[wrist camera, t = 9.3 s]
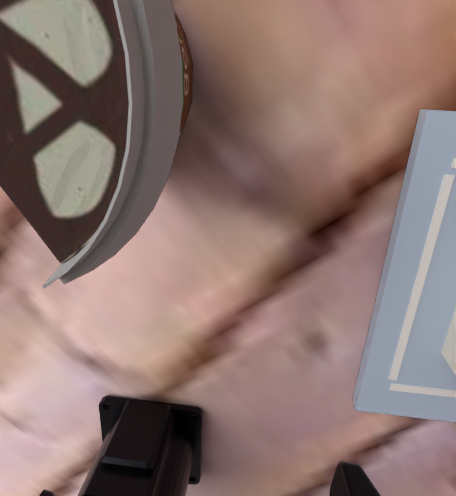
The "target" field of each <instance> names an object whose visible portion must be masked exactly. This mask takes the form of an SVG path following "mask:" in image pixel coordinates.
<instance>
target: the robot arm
mask: <svg viewBox="0 0 456 496" xmlns="http://www.w3.org/2000/svg"><path fill="white" fill-rule="evenodd" d="M107 404H108V405H107ZM99 412H100V421H101V430H102V439H103V444H102V446H101V448H100V450H99V452H98V454H97V456H96V458H95V460H94V462H93V464H92V467H91V469H90V471H89V473H88V475H87V477H86V479H85V481H84V483H83V485H82V488H81V490H80V492H79V494H78V496H185V495H186V491H187V486H188V484H198V483H199V482H200V477H201V459H202V429H203V411H202V410H201V409H200V408H198V407H195V406H187V405H178V404H170V403H162V402H153V401H145V400H137V399H128V398H120V397H112V396H105V397H103V398H102V400H101V402H100V403H99ZM194 415H196V416H194ZM40 496H57V495H54V492H51V491H48V490H43V491H42V493H41V494H40ZM330 496H381V495H380V494H379V493H378V491H377V490H376V488H375V487H374V485H373V484H372V482H371V481H370V479H369V478H368V476H367V475H366V473H365V472H364V471H363V469H362V468H361V467H360V466H359V465H358V464H356V463H350V462H345V461H340V462H339V463H338V465H337V468H336V471H335V474H334V477H333V480H332V483H331V486H330Z"/></svg>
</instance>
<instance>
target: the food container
mask: <svg viewBox="0 0 456 496" xmlns="http://www.w3.org/2000/svg"><path fill="white" fill-rule="evenodd" d="M192 88H193V63H192V59H191V55H190V51H189V47H188V44H187V40H186V36H185V33H184V31H183V28H182V26H181V24H180V22H179V20H178V18H177V15H176V14H175V12H174V10H173V7H172V3H171V0H0V186H1V188H2V189H3V190H4V191H5V193H6V194H7V195H8V196H9V198H10V199H11V200H12V202H13V203H14V204H15V205H16V207H17V208H18V209H19V210H20V212H21V213H22V214H23V215H24V217H25V218H26V219H27V221H28V222H29V223H30V224H31V226H32V227H33V228H34V229H35V231H36V232H37V233H38V235H39V236H40V237H41V239H42V240H43V241H44V243H45V244H46V245H47V246H48V248H49V249H50V250H51V252H52V253H53V254H54V256H55V257H56V258H57V259H58V261H59V262H60V263H62V264H61V265H60V266H59V267H58V268H57V270H56V271H55V272H54V273H53V274H52V275H51V277H50V278H49V279H48V280H47V281H46V282H45V284H44V285H43V287H44V288H46V287H48V286H49V285H50V284H52V283H53V282H54V281H56V280H57V279H58V278H60V280H61V281H62V283H63V284H66V283H68V282H70V281H72V280H74V279H76V278H78V277H80V276H82V275H84V274H86V273H88V272H90V271H92V270H94V269H95V268H97V267H98V266H100V265H101V264H103V263H104V262H105V261H107V260H108V259H110V258H111V257H113V256H114V255H115V254H116V253H117V252H118V251H119V250H120V249H121V248H122V247H123V246H124V245H125V244H126V243H127V242H128V241H129V240H130V239H131V238H132V237H133V236H134V235H135V234H136V233H137V232H138V230H139V229H140V227H141V226H142V225H143V223H144V222H145V220H146V219H147V217H148V216H149V215H150V213H151V212H152V210H153V209H154V207H155V205H156V203H157V201H158V198H159V196H160V194H161V192H162V190H163V188H164V186H165V183H166V181H167V179H168V177H169V173H170V169H171V166H172V162H173V159H174V155H175V152H176V148H177V144H178V139H179V137H180V136H181V134H182V132H183V129H184V126H185V122H186V119H187V116H188V113H189V110H190V106H191V103H192Z"/></svg>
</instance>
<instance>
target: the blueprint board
mask: <svg viewBox="0 0 456 496" xmlns="http://www.w3.org/2000/svg"><path fill="white" fill-rule="evenodd" d="M353 404H354V408H355V411H363V412H372V413H380V414H389V415H397V416H406V417H414V418H423V419H431V420H440V421H448V422H456V111H444V110H426V109H420V112H419V116H418V120H417V125H416V129H415V133H414V138H413V142H412V146H411V151H410V155H409V159H408V163H407V168H406V172H405V176H404V181H403V185H402V189H401V194H400V198H399V202H398V206H397V211H396V215H395V219H394V224H393V228H392V232H391V237H390V241H389V245H388V249H387V254H386V258H385V262H384V267H383V271H382V275H381V280H380V284H379V288H378V292H377V297H376V301H375V305H374V310H373V314H372V318H371V323H370V327H369V331H368V335H367V340H366V344H365V348H364V353H363V357H362V361H361V366H360V370H359V374H358V378H357V383H356V387H355V391H354V396H353Z"/></svg>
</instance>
